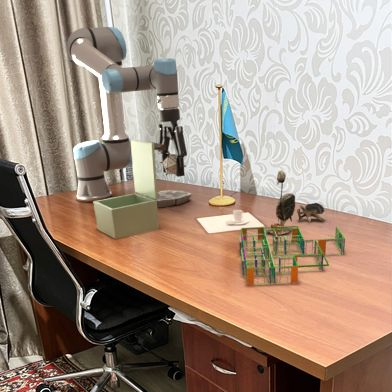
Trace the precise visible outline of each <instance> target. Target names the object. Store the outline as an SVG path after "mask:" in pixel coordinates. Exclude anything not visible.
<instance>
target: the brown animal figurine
mask: <svg viewBox="0 0 392 392" xmlns="http://www.w3.org/2000/svg"><path fill="white" fill-rule="evenodd" d="M324 212H325V207H324V206H323V205H322V204H321V203H318V202H313V203H307V205H305V207H304V206H303V205H302V204H300V205H299V208H297V210H296V213H297V215H298V216H297V217H298V221H301V220H302V219H303V218H306V219H307V220H308V224H310V223H311V220H312V218H315V219H318V220H319V221H320V222H325V221H326V220H325V219H324V218H322V217H321V216H320V215H323V213H324Z"/></svg>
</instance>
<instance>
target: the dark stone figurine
mask: <svg viewBox="0 0 392 392" xmlns="http://www.w3.org/2000/svg"><path fill="white" fill-rule="evenodd" d="M286 177H287V175H286V172H284V171H283V170H279V171H278V172H277V176H276V180H277V182H276V184H277V185H278V186H279V184H281V186H280V189H281V191H280V197H279V199H278V201H277V203H276V207H275V216H276V218H278V220H277V223H271V224H270V227H285V224H286V222H287V221H288V220H290V222H293V219H292V216H294V213H295V210H296V209H295V208H296V194H297V193H295V194H293V193H290V192H287V193H286V194H285V193H284V195H283V187H284V183H285V181H286ZM279 221H280V222H279ZM270 227H269V228H268V229H266V230H273V229H281V228H270ZM282 229H286V228H282ZM265 233H268V232H267V231H265ZM269 233H270V234H273V232H269ZM289 233H290V231H283V230H282V233H281V235H283V234H289ZM278 236H280V230H278Z"/></svg>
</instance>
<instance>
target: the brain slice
mask: <svg viewBox="0 0 392 392" xmlns="http://www.w3.org/2000/svg"><path fill="white" fill-rule="evenodd" d="M145 196H146V195H145ZM191 196H192V193H191V192H189V191H186V190H160V191H157V197H158V199H154V198H151V197H148V196H146V197H148V198H151V199H154V200H157V208H165V207H167V208H168V207H172V206H178V205H181V204H184V203H187V202H188V201H189V200H190V199H191Z"/></svg>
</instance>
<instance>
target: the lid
mask: <svg viewBox="0 0 392 392" xmlns="http://www.w3.org/2000/svg"><path fill="white" fill-rule="evenodd" d="M130 140H131V151H132V163H133V164H132V174H133V175H132V176H133V184H134V185H133V187H134V193H137V194H140V195H143V196H148V197H151V198H154V199H158V197H157V193H158V184H157V183H158V182H157V170H156V168H157V167H156V153H155V152H156V151H158V150H159V151H165V150H166V145H164V144H159V143H158V142H148V141H147V142H146V141H142V140H137V139H130ZM159 151H158V152H159Z"/></svg>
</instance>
